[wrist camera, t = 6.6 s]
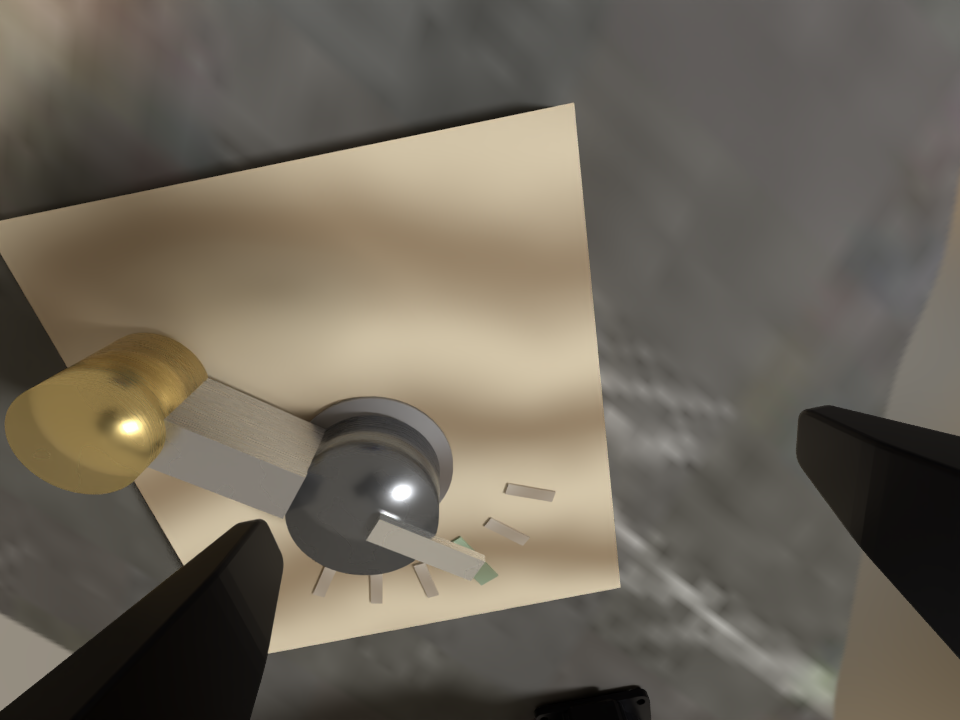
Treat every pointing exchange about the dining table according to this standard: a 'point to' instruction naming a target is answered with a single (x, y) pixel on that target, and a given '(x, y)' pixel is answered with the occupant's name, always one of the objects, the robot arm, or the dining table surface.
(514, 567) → the board
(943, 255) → the dining table surface
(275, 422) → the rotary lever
